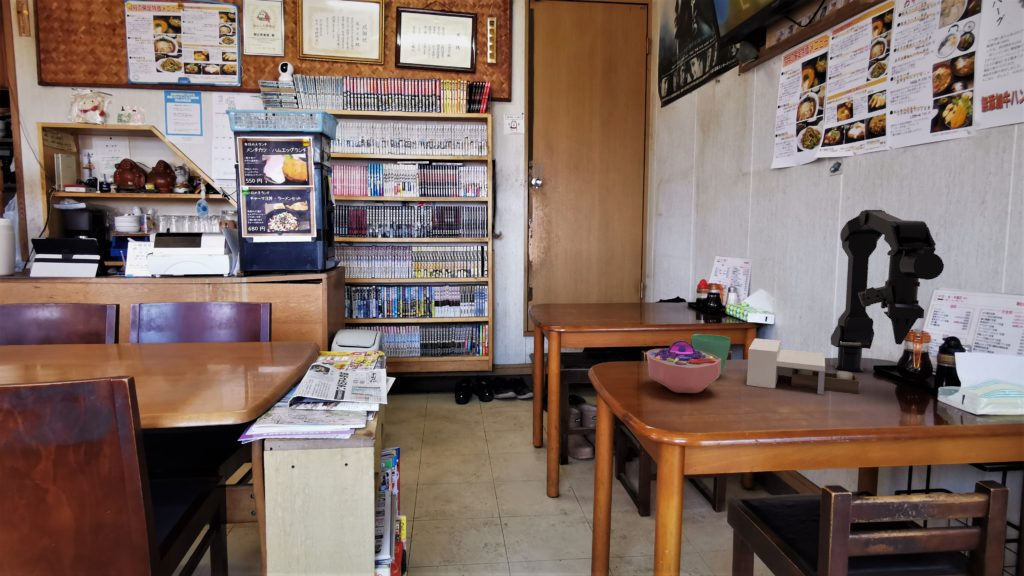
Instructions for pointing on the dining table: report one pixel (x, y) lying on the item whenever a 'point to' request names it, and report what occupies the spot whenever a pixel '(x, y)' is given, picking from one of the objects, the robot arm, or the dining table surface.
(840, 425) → the dining table surface
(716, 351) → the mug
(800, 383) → the tray
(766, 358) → the counter
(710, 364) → the cell model
